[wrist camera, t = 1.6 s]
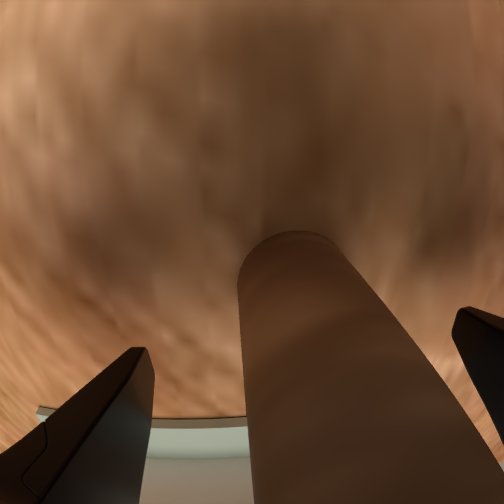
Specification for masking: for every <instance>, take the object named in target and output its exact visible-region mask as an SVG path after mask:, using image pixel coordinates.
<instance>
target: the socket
mask: <svg viewBox="0 0 504 504" xmlns="http://www.w3.org/2000/svg"><path fill="white" fill-rule="evenodd" d="M54 411H56V410H54V409H48V408H42V407H39V408H38V410H37V412H36V416H37V417H38V419H39V420H40V421H41V422H43V421H44V422H45V419H46V418H47V417H49V416H50V415H51V414H52V413H53V412H54ZM139 504H254V497H253V486H252V474H251V463H250V451H249V440H248V427H247V417H239V418H222V419H188V420H172V419H152V425H151V432H150V438H149V444H148V449H147V455H146V461H145V468H144V474H143V480H142V487H141V494H140V501H139Z"/></svg>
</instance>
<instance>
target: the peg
mask: <svg viewBox="0 0 504 504" xmlns="http://www.w3.org/2000/svg"><path fill="white" fill-rule="evenodd" d="M238 303H239V319H240V334H241V348H242V362H243V376H244V389H245V402H246V415H247V427H248V440H249V451H250V463H251V474H252V486H253V497H254V504H504V472H503V470H502V468H501V467H500V465H499V463H498V462H497V460H496V458H495V457H494V455H493V454H492V452H491V450H490V449H489V447H488V446H487V444H486V443H485V441H484V439H483V438H482V436H481V435H480V433H479V432H478V430H477V429H476V427H475V426H474V424H473V423H472V421H471V420H470V418H469V417H468V415H467V414H466V412H465V411H464V409H463V408H462V406H461V405H460V404H459V402H458V401H457V399H456V398H455V396H454V395H453V394H452V392H451V391H450V389H449V388H448V386H447V385H446V384H445V382H444V381H443V380H442V378H441V377H440V375H439V374H438V373H437V371H436V370H435V369H434V367H433V366H432V365H431V363H430V362H429V360H428V359H427V358H426V356H425V355H424V354H423V352H422V351H421V350H420V349H419V347H418V346H417V345H416V343H415V342H414V341H413V339H412V338H411V337H410V336H409V334H408V333H407V332H406V330H405V329H404V328H403V327H402V325H401V324H400V323H399V321H398V320H397V319H396V318H395V316H394V315H393V314H392V313H391V311H390V310H389V309H388V308H387V306H386V305H385V304H384V303H383V302H382V300H381V299H380V298H379V297H378V295H377V294H376V293H375V292H374V291H373V289H372V288H371V287H370V286H369V285H368V283H367V282H366V281H365V280H364V279H363V277H362V276H361V275H360V274H359V273H358V272H357V270H356V269H355V268H354V267H353V266H352V264H351V263H350V262H349V261H348V260H347V259H346V258H345V256H344V255H343V254H342V253H341V252H340V251H339V249H338V248H337V247H336V246H335V245H334V244H333V243H332V242H330V241H329V240H328V239H326V238H324V237H323V236H320V235H318V234H315V233H311V232H306V231H290V232H284V233H281V234H277V235H275V236H272V237H270V238H268V239H267V240H265V241H263V242H262V243H261V244H259V245H258V246H257V247H256V248H255V249H254V250H252V252H251V253H250V254H249V255H248V256H247V258H246V260H245V261H244V263H243V265H242V267H241V270H240V273H239V276H238Z"/></svg>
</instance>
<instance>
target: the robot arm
mask: <svg viewBox="0 0 504 504" xmlns="http://www.w3.org/2000/svg"><path fill="white" fill-rule="evenodd" d="M452 339H453V341H454V343H455V345H456V347H457V349H458V351H459V354H460V356H461V358H462V360H463V363H464V365H465V367H466V369H467V372H468V374H469V376H470V378H471V380H472V382H473V384H474V385H475V387H476V389H477V391H478V393H479V395H480V397H481V399H482V401H483V403H484V405H485V407H486V409H487V411H488V413H489V415H490V417H491V419H492V421H493V423H494V425H495V427H496V429H497V431H498V434H499V436H500V438H501V440H502V442H503V445H504V318H502V317H499V316H496V315H493V314H491V313H488V312H485V311H482V310H479V309H476V308H474V307H471V306H468V307H464V308H460V309H459V310H458V312H457V314H456V318H455V321H454V325H453V328H452ZM154 382H155V373H154V369H153V366H152V362H151V359H150V356H149V353H148V350H147V349H146V348H145V347H131V348H129V349H128V350H127V351H126V352H124V353H123V354H122V355H121V356H120V357H118V358H117V359H116V360H115V361H114V362H112V363H111V364H110V365H109V366H108V367H107V368H105V369H104V370H103V371H102V372H101V373H99V374H98V375H97V376H96V377H95V378H93V379H92V380H91V381H90V382H89V383H88V384H86V385H85V386H84V387H83V388H82V389H80V390H79V391H78V392H77V393H76V394H75V395H73V396H72V397H71V398H70V399H69V400H67V401H66V402H65V403H64V404H63V405H62V406H60V407H59V408H58V409H57V410H56V411H54V412H53V413H52V414H51V415H50V416H49V417H47V418H46V419H45V422H44V421H43V422H41V423H40V424H39V425H38V426H37V427H35V428H34V429H33V430H32V431H31V432H29V433H28V434H27V435H26V436H24V437H23V438H22V439H21V440H19V441H18V442H17V443H15V444H14V445H13V446H11V447H10V448H8V449H7V450H6V451H4V452H3V453H1V454H0V504H139V501H140V494H141V487H142V480H143V474H144V468H145V461H146V455H147V449H148V444H149V438H150V432H151V425H152V410H153V395H154Z"/></svg>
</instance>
